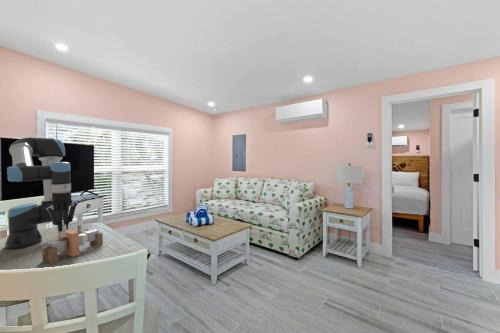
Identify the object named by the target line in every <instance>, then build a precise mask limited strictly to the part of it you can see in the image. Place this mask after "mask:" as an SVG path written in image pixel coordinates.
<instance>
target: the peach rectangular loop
mask: <svg viewBox="0 0 500 333" xmlns="http://www.w3.org/2000/svg"><path fill="white" fill-rule="evenodd" d="M57 231H58V230H57ZM66 232H67V237H66V238H69V249H67V250H64V251H61V252H59V253H58V254H61V255H62V254H63V255H65V256H69V257H72V258H73V257H77V256H79V255H80V245H79V232H76V231H72V230H70V229H68V230H66ZM61 238H62V237H60V232H59V231H58V239H61ZM64 238H65V237H64Z"/></svg>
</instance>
